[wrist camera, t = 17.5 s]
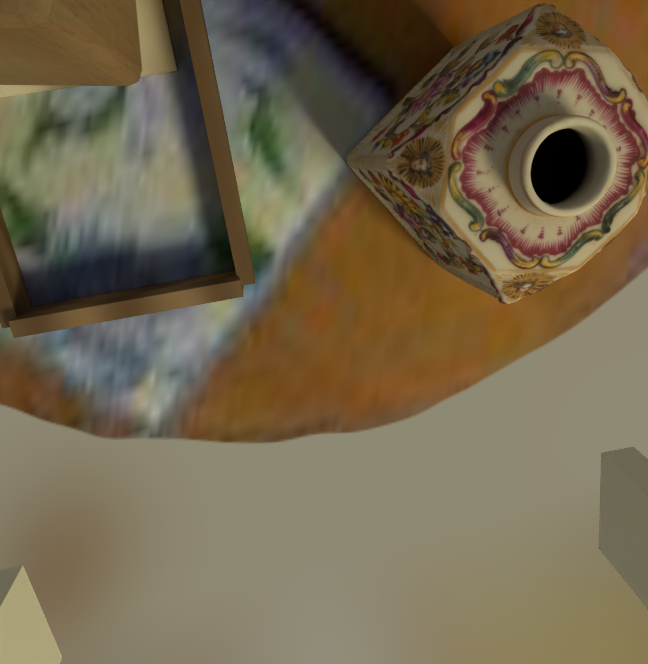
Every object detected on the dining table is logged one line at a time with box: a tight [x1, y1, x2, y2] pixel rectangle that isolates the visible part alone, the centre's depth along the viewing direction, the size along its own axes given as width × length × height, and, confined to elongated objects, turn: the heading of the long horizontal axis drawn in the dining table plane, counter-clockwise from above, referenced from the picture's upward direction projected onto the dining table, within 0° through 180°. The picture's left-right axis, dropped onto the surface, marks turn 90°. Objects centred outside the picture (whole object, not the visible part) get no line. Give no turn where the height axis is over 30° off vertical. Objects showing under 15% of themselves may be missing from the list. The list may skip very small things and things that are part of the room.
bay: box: [0, 0, 255, 338], centre depth 37 cm, size 18×28×4 cm, turn 9°
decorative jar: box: [346, 3, 648, 304], centre depth 35 cm, size 12×12×18 cm
